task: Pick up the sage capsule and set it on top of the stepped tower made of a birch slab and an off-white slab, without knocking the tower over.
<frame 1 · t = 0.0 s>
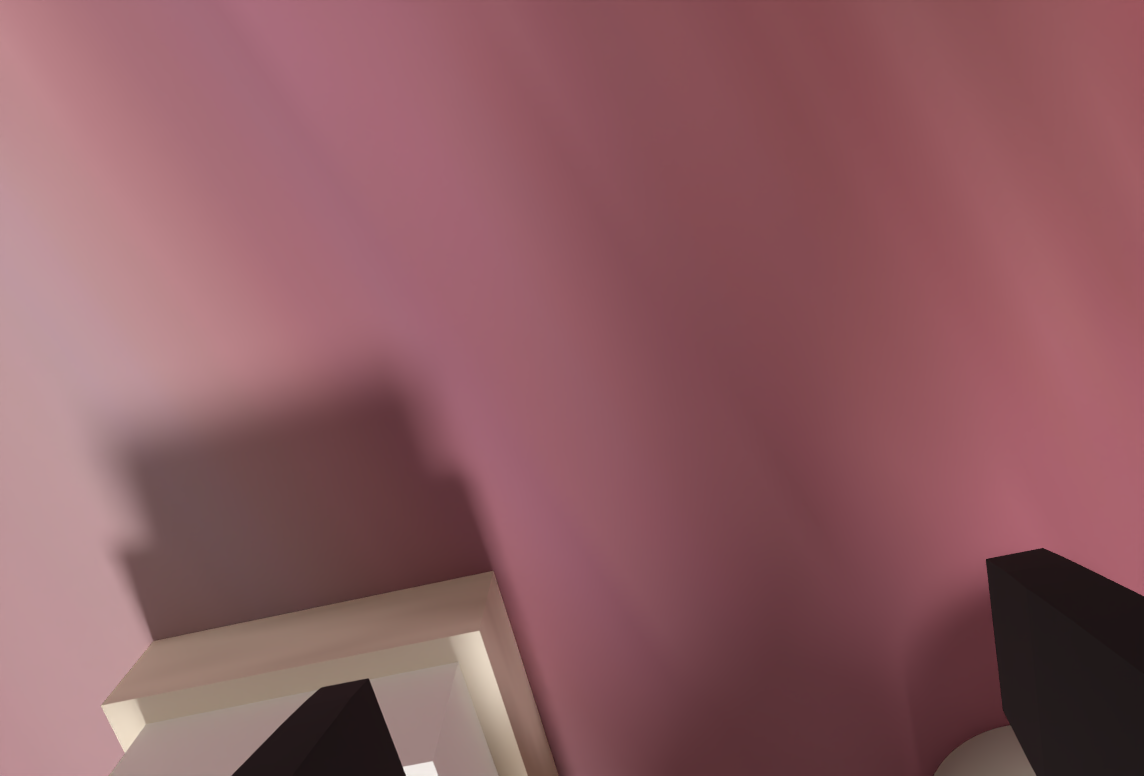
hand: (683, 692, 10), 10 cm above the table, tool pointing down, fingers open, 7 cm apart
base slab: (381, 736, 24), on the table, touching top slab
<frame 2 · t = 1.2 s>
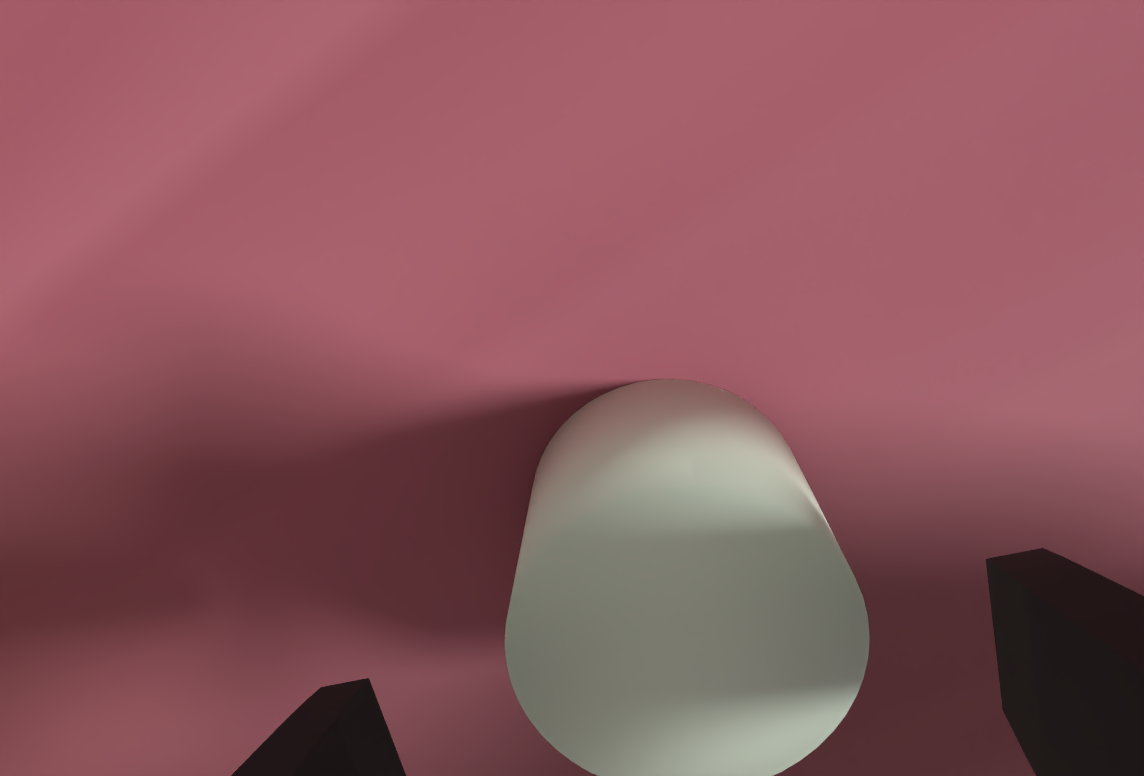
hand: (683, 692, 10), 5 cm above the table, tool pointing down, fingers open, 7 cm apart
sage capsule: (665, 505, 15), on the table
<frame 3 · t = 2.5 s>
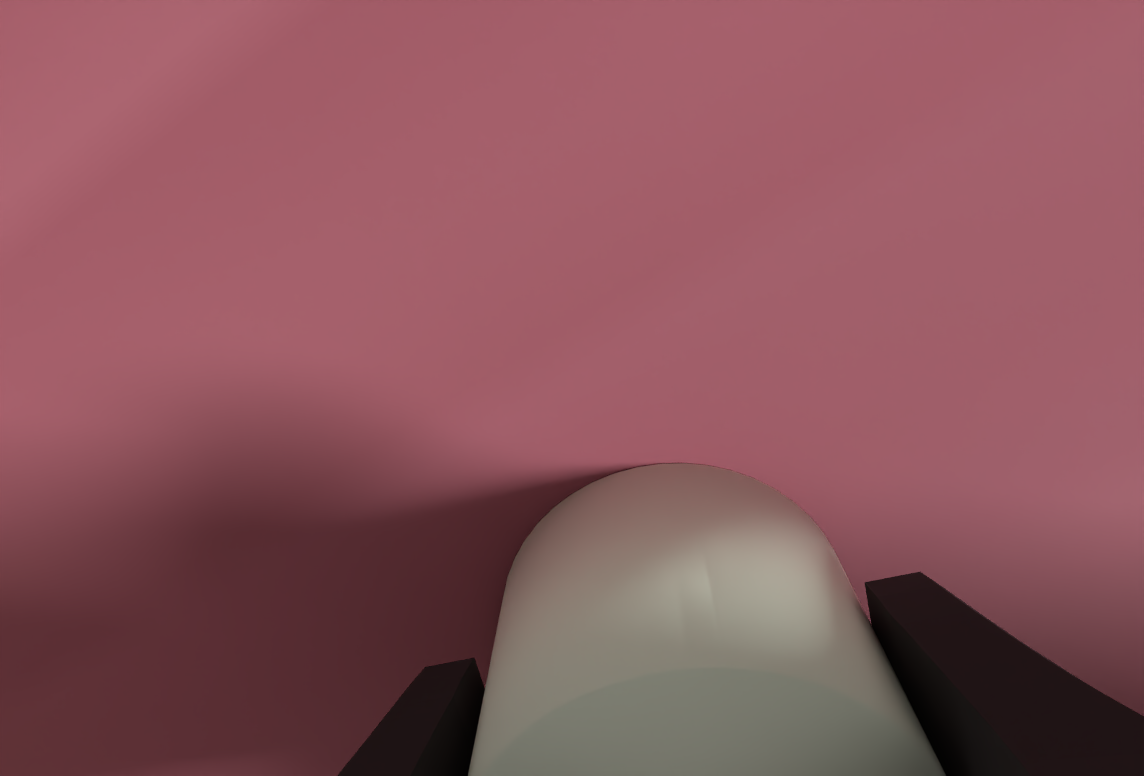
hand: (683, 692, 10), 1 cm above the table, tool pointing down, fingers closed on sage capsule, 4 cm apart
sage capsule: (673, 621, 11), on the table, touching gripper
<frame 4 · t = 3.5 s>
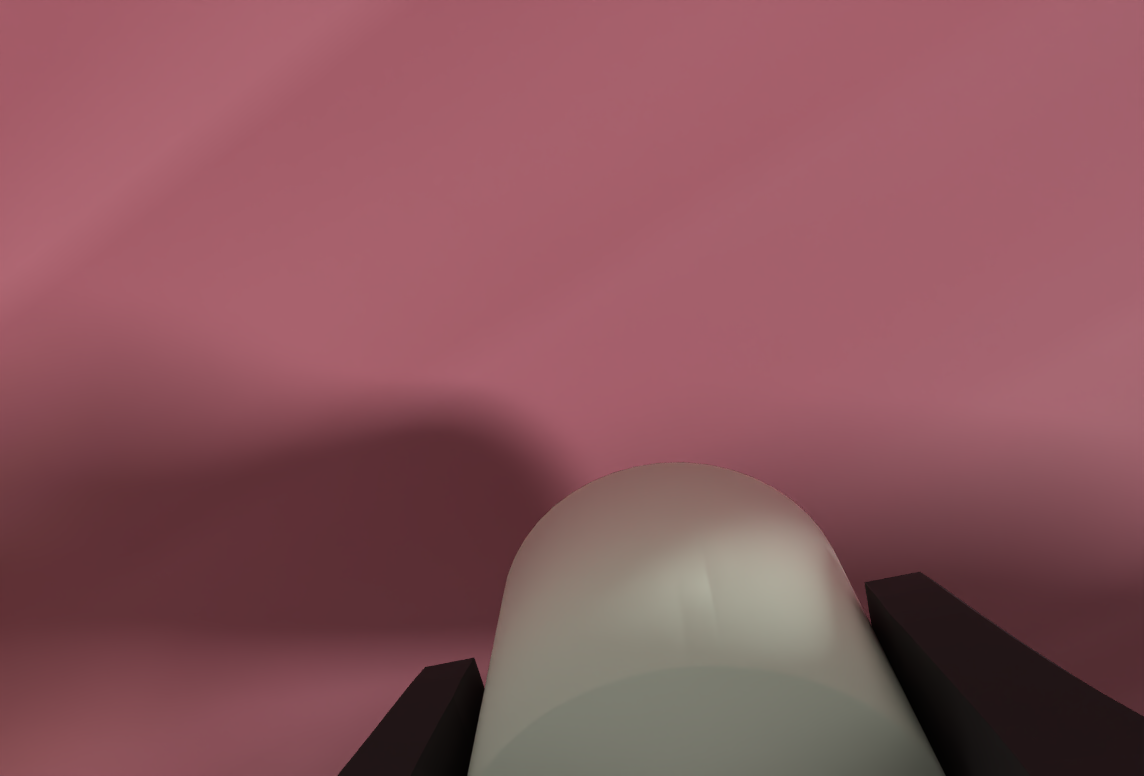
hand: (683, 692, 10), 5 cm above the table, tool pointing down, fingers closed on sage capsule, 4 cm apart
sage capsule: (673, 620, 11), point 3 cm above the table, touching gripper
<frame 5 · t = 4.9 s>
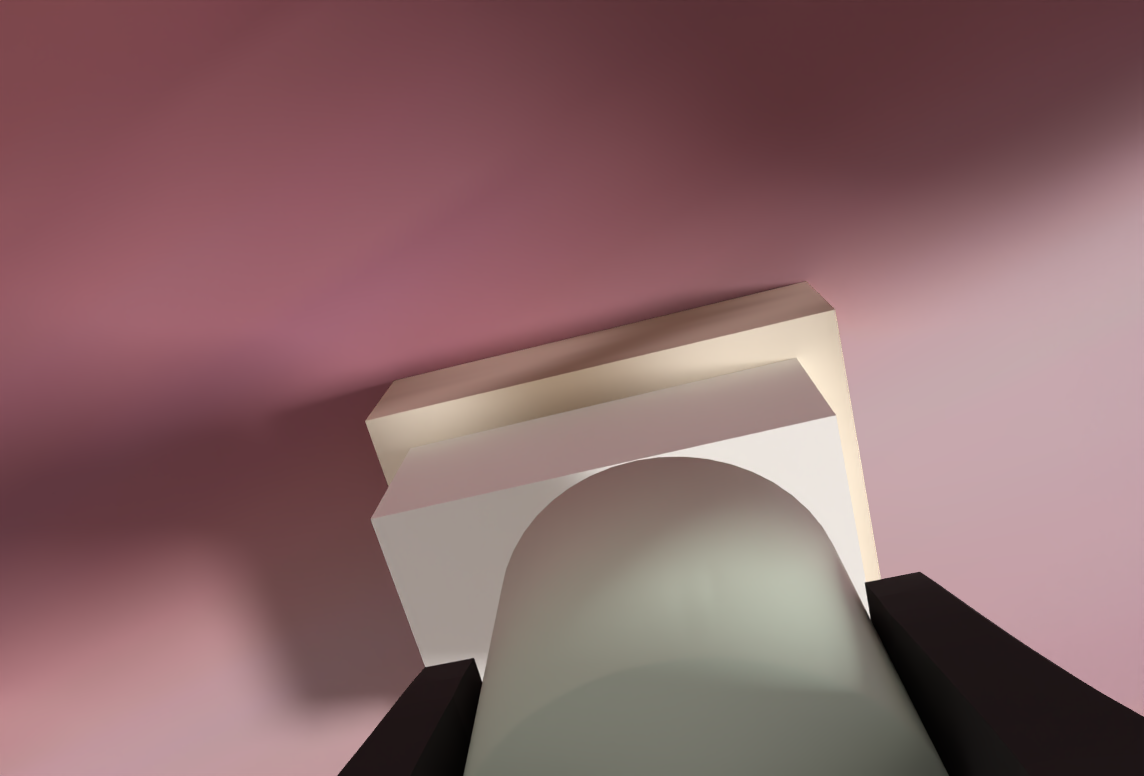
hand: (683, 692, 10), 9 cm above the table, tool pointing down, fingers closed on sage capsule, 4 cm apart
top slab: (643, 573, 18), point 2 cm above the table, touching base slab
base slab: (641, 506, 21), on the table, touching top slab
sage capsule: (672, 615, 11), point 8 cm above the table, touching gripper
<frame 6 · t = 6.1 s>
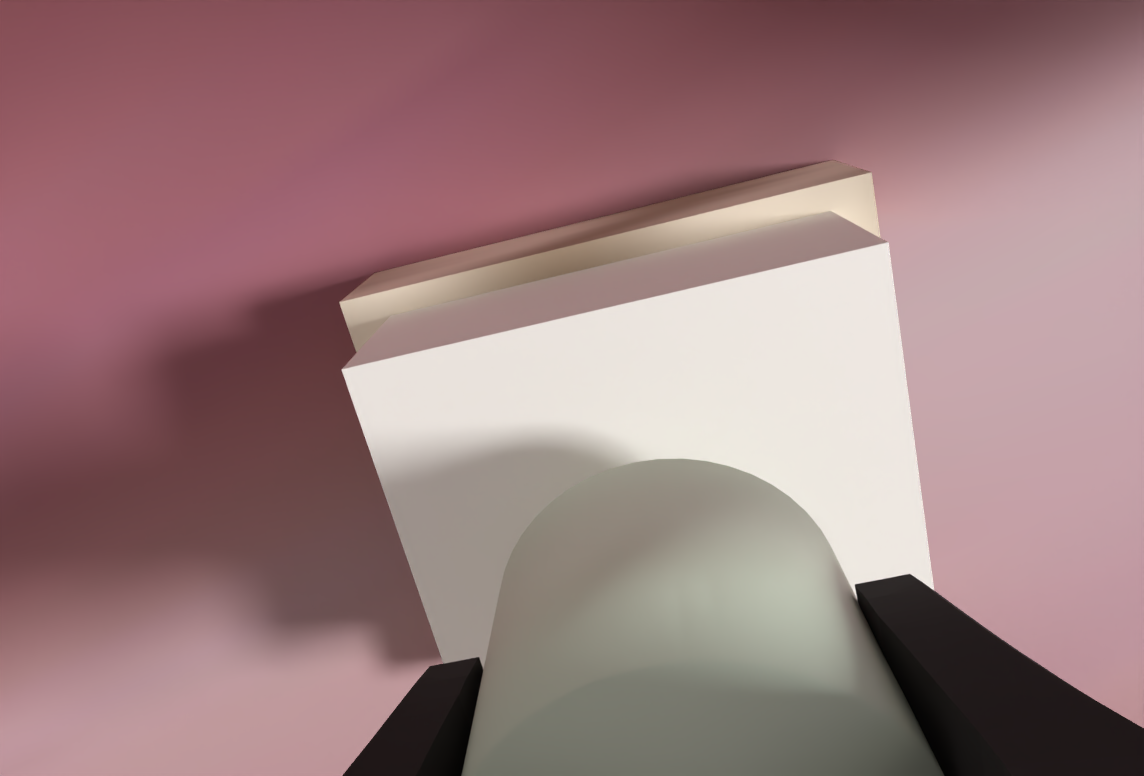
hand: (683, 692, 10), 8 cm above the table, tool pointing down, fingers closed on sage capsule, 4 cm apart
top slab: (652, 466, 16), point 2 cm above the table, touching base slab
base slab: (646, 421, 19), on the table, touching top slab
sage capsule: (670, 617, 11), point 7 cm above the table, touching gripper
when the fingers open (8 cm above the table, at t = 6.4 s): sage capsule drops 1 cm, point 5 cm above the table.
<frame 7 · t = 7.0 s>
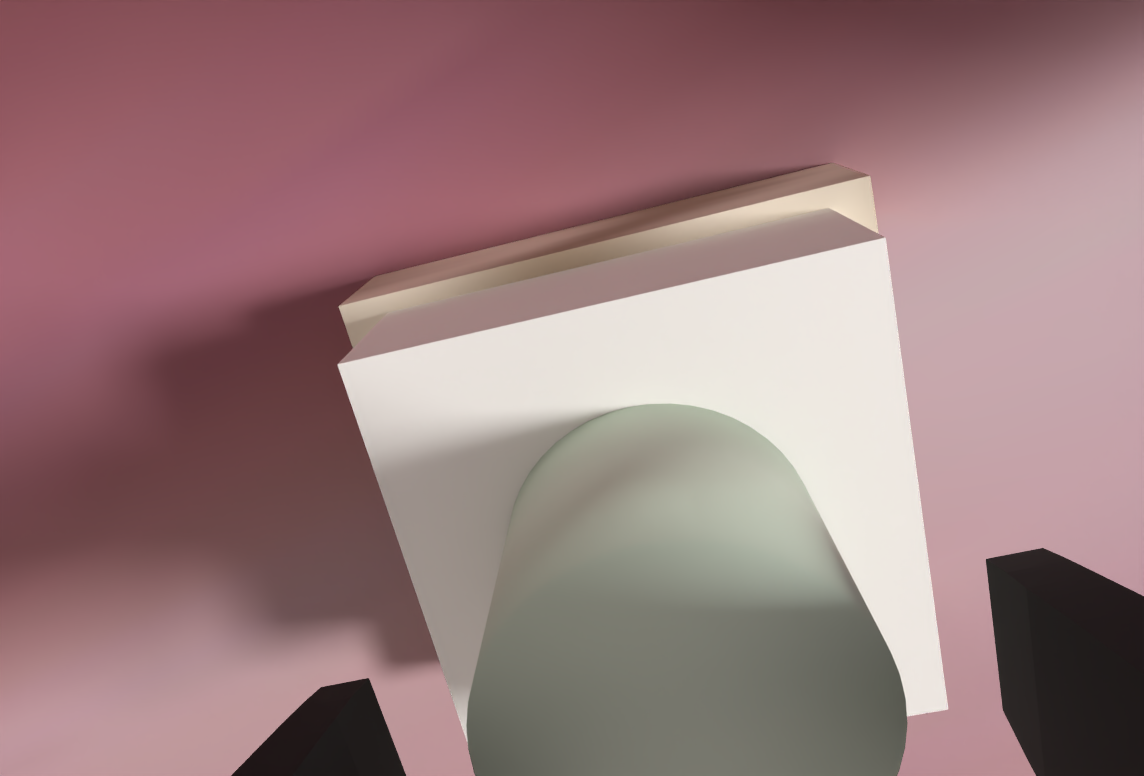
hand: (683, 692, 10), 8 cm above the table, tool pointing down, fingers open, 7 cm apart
top slab: (650, 464, 16), point 2 cm above the table, touching base slab
base slab: (646, 424, 19), on the table, touching top slab
sage capsule: (661, 548, 13), point 5 cm above the table
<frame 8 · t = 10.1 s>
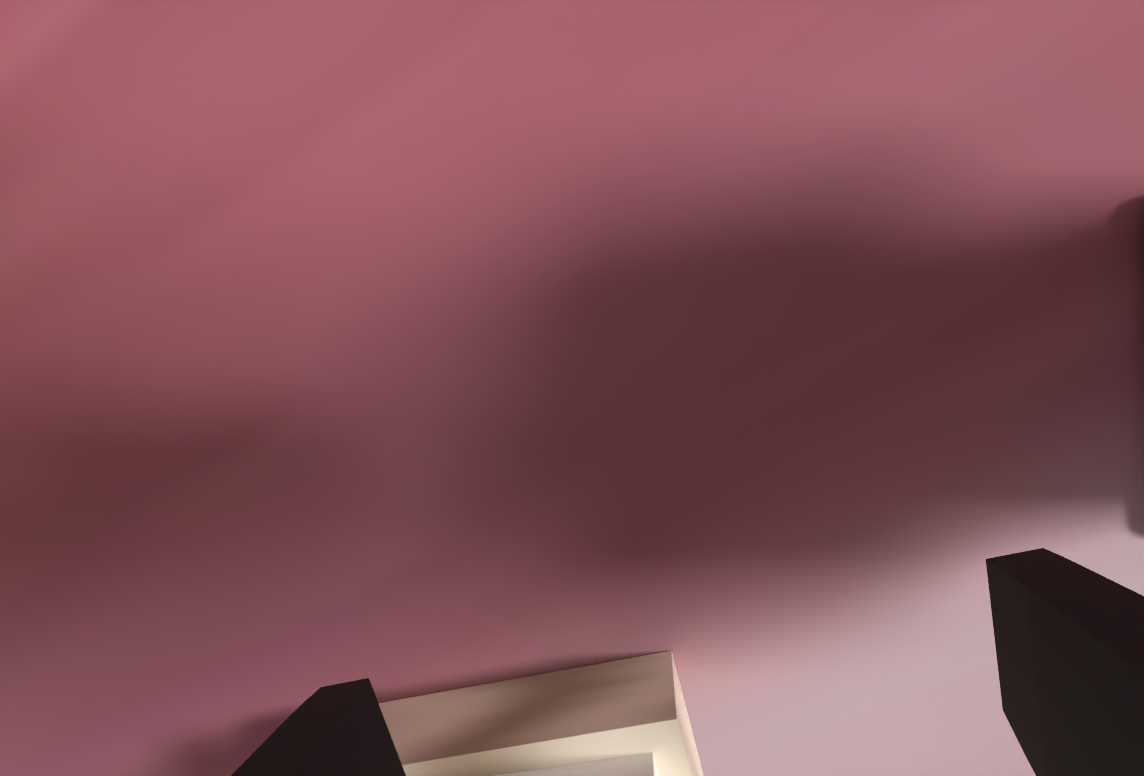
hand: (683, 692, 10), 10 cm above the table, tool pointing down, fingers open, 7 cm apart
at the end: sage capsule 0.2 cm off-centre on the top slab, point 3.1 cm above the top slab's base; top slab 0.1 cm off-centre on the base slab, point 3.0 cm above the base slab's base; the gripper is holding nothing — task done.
